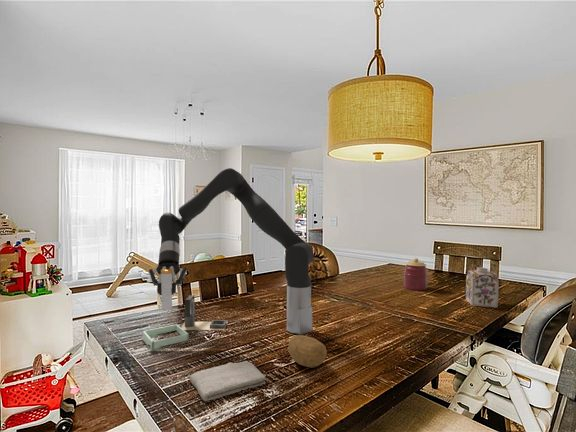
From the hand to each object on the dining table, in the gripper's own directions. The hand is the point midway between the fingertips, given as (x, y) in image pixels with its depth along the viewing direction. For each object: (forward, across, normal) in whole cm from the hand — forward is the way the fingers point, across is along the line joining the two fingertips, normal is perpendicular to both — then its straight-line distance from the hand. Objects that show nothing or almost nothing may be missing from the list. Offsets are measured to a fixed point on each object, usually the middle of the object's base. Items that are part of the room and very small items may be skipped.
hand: (166, 293), depth 123 cm
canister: (-22, +135, +44) cm, 144 cm away
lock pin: (+3, 0, +6) cm, 6 cm away
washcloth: (+38, +19, -15) cm, 45 cm away
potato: (+34, +43, -11) cm, 55 cm away
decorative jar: (+4, +147, +19) cm, 149 cm away
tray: (+14, 0, +8) cm, 16 cm away
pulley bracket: (+7, +13, +16) cm, 21 cm away
